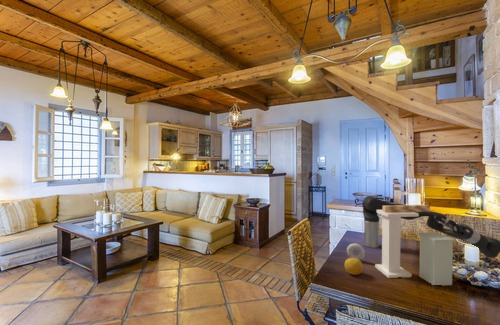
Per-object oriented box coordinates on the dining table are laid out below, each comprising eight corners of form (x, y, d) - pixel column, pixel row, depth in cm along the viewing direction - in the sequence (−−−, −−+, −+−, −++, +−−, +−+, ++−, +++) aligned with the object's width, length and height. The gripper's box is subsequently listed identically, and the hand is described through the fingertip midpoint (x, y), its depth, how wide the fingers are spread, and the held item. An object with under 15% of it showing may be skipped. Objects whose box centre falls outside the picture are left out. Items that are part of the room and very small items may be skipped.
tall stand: (403, 266, 135) (403, 208, 134) (419, 276, 123) (420, 213, 122) (375, 267, 134) (375, 209, 133) (388, 277, 122) (389, 214, 121)
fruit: (344, 275, 125) (344, 260, 125) (344, 268, 132) (344, 254, 132) (363, 278, 122) (363, 262, 122) (362, 271, 129) (362, 256, 129)
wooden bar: (426, 210, 130) (426, 204, 130) (429, 211, 127) (429, 205, 127) (382, 211, 129) (382, 205, 129) (385, 212, 126) (385, 206, 126)
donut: (346, 259, 144) (346, 243, 144) (347, 257, 147) (347, 241, 147) (365, 263, 139) (365, 245, 139) (365, 260, 142) (365, 243, 142)
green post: (436, 275, 125) (437, 232, 124) (454, 285, 115) (454, 239, 114) (417, 275, 124) (418, 233, 124) (433, 286, 114) (434, 239, 114)
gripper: (457, 223, 137) (434, 209, 136) (483, 231, 123) (457, 216, 122) (451, 235, 137) (427, 221, 136) (476, 244, 123) (449, 229, 122)
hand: (441, 218), depth 129 cm, fingers open, 8 cm apart
